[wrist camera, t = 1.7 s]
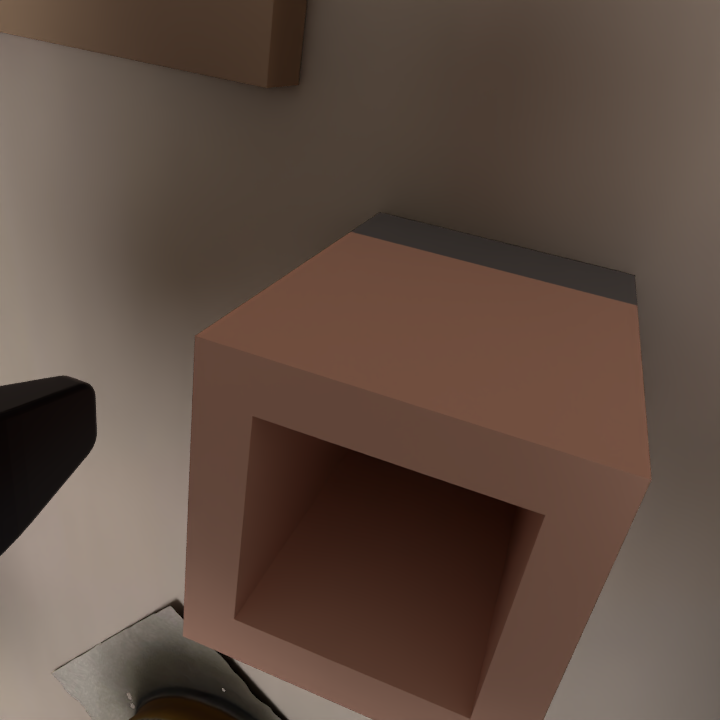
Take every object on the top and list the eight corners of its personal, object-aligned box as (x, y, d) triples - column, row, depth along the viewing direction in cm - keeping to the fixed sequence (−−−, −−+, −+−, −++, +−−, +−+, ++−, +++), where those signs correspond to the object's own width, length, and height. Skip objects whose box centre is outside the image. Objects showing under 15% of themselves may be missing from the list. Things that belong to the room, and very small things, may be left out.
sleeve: (634, 275, 11) (651, 479, 6) (556, 488, 13) (515, 781, 8) (379, 212, 12) (195, 335, 7) (344, 419, 14) (183, 636, 9)
